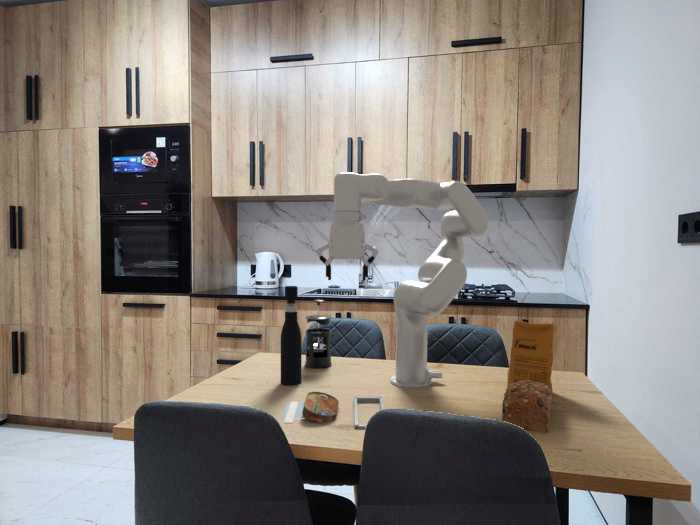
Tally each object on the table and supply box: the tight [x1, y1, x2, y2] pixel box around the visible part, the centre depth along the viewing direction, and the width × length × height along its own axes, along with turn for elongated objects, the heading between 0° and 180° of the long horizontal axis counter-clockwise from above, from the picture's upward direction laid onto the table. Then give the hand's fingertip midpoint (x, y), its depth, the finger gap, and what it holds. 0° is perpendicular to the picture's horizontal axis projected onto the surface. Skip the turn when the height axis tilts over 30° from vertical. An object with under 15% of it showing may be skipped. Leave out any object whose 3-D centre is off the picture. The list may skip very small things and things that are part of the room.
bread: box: [501, 380, 553, 434], centre depth 115 cm, size 19×11×10 cm, turn 155°
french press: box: [304, 298, 332, 369], centre depth 168 cm, size 12×9×23 cm
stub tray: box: [353, 396, 385, 430], centre depth 118 cm, size 8×20×2 cm, turn 0°
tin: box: [302, 391, 340, 424], centre depth 119 cm, size 15×3×8 cm
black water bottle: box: [280, 285, 303, 387], centre depth 145 cm, size 6×6×30 cm
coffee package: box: [506, 319, 555, 398], centre depth 134 cm, size 10×12×22 cm
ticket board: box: [279, 401, 313, 424], centre depth 119 cm, size 8×14×1 cm, turn 0°
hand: (346, 279), depth 132 cm, fingers open, 9 cm apart
